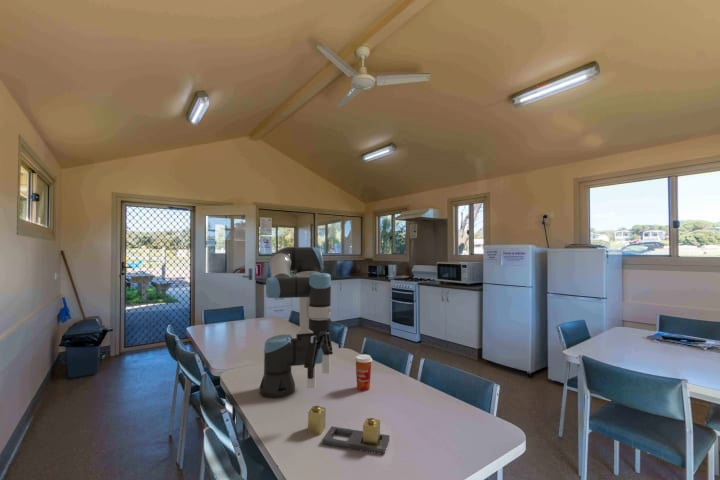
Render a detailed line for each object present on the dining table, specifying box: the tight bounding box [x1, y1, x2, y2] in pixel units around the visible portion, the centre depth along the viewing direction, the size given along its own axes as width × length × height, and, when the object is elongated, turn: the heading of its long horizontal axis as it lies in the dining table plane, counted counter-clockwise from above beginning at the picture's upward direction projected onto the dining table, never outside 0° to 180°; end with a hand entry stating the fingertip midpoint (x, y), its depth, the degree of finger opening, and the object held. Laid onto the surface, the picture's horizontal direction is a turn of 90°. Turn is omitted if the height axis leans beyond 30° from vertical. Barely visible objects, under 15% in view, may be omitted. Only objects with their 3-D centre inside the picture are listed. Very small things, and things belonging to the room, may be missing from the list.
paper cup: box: [354, 354, 373, 392], centre depth 151 cm, size 8×8×14 cm
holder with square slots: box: [322, 417, 390, 455], centre depth 109 cm, size 20×8×8 cm, turn 74°
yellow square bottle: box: [307, 405, 327, 436], centre depth 116 cm, size 4×4×8 cm
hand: (319, 380), depth 116 cm, fingers open, 13 cm apart
